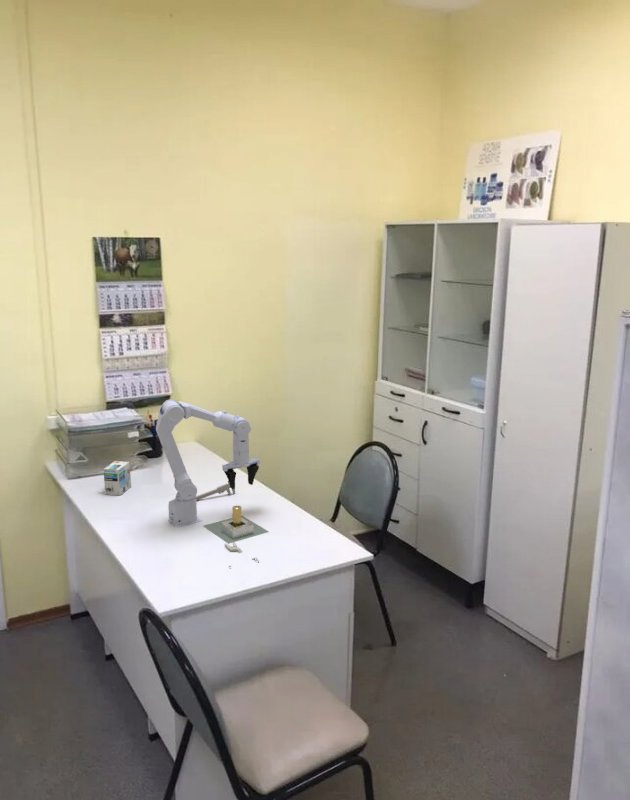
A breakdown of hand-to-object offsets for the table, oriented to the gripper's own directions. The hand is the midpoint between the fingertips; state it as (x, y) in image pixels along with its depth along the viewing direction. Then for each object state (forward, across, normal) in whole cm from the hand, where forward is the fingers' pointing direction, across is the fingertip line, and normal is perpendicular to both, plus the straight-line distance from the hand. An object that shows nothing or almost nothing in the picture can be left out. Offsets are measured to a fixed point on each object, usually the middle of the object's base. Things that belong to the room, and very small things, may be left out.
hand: (241, 486), depth 249 cm
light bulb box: (+11, -28, +49) cm, 58 cm away
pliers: (+11, -20, -29) cm, 37 cm away
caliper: (+11, -2, +20) cm, 23 cm away
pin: (+10, -11, -15) cm, 21 cm away
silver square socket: (+10, -11, -15) cm, 21 cm away
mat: (+10, -10, -12) cm, 19 cm away
